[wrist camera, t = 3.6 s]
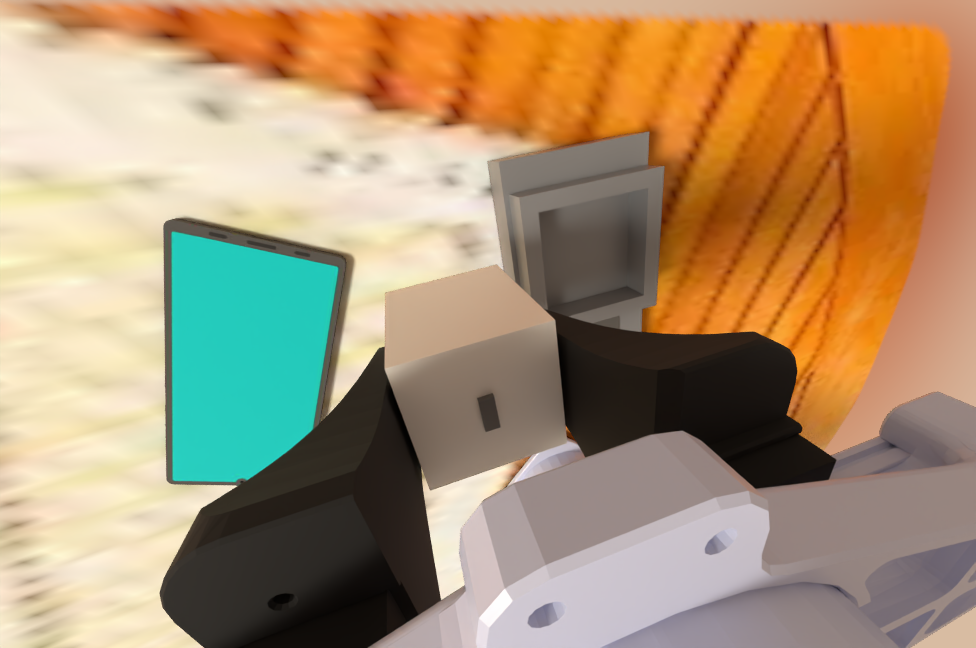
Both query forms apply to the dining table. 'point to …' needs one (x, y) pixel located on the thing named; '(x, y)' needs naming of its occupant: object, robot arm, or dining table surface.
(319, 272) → the smartphone
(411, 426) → the block
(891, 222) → the dining table surface
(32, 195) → the dining table surface
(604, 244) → the power strip
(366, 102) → the dining table surface
